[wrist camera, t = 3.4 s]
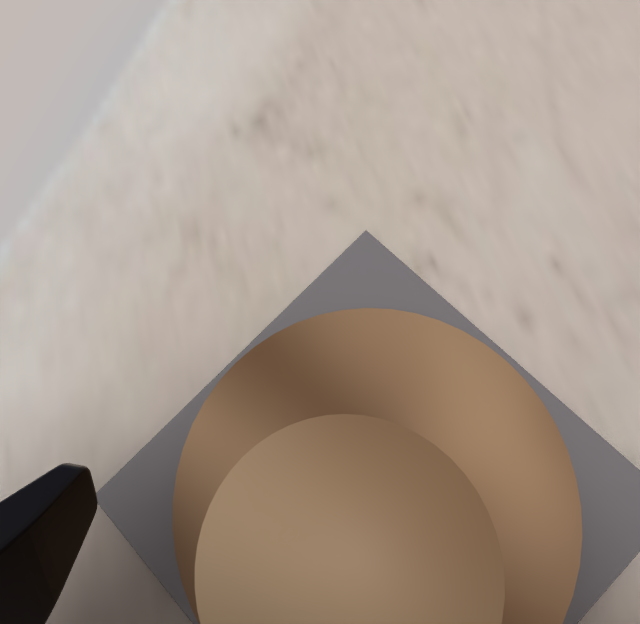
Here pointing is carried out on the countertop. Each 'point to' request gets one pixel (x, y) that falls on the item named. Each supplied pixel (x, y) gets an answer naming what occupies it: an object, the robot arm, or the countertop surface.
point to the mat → (411, 296)
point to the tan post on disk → (376, 483)
